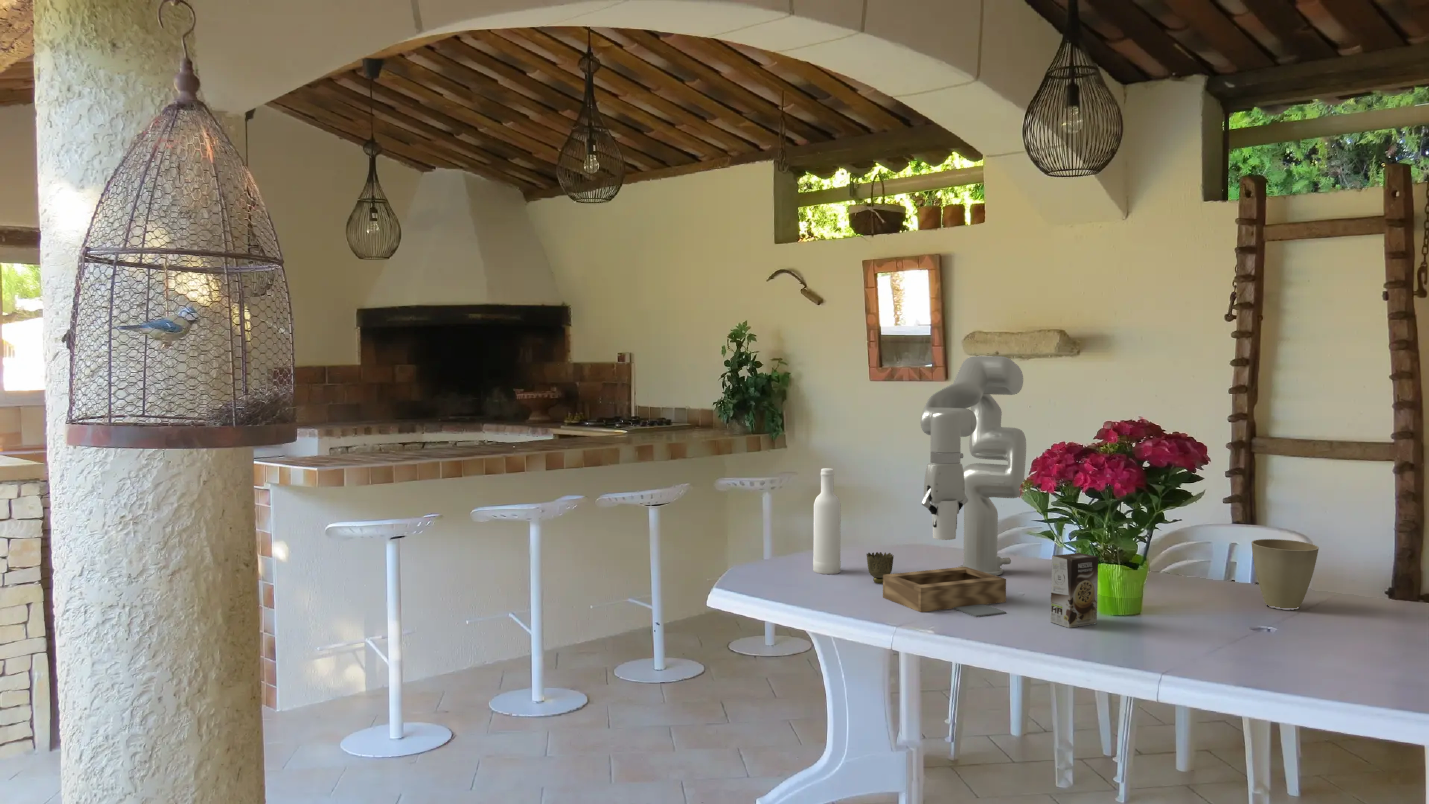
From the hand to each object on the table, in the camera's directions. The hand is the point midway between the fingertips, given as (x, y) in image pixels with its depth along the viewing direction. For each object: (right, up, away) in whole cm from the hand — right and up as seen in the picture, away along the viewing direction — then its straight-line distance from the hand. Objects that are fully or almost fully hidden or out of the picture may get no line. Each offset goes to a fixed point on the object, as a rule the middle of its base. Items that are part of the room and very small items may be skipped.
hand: (944, 528), depth 279 cm
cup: (-14, -18, +21) cm, 31 cm away
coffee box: (+26, -20, -23) cm, 40 cm away
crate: (0, -18, +1) cm, 18 cm away
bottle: (-27, -17, +36) cm, 48 cm away
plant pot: (+83, -19, -7) cm, 86 cm away
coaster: (+6, -19, -11) cm, 23 cm away
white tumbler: (0, -3, 0) cm, 3 cm away
